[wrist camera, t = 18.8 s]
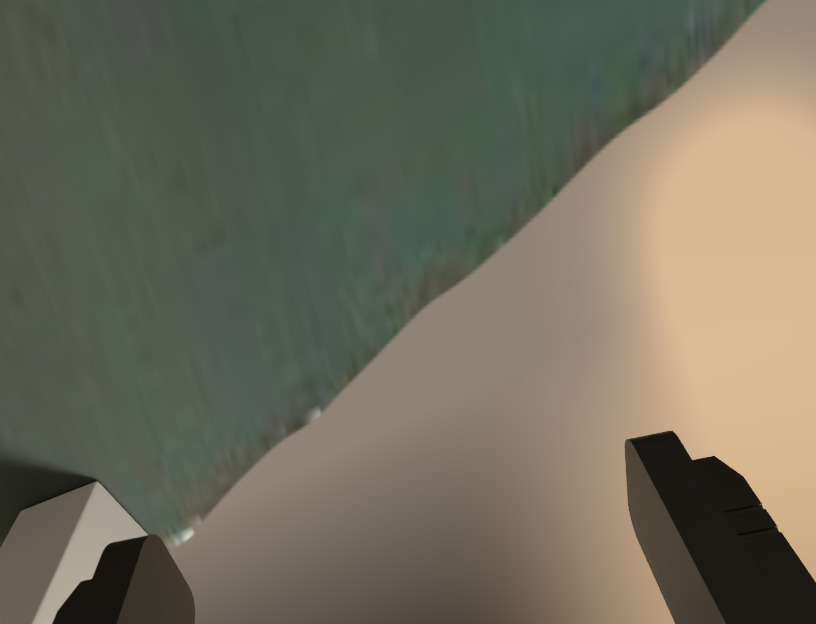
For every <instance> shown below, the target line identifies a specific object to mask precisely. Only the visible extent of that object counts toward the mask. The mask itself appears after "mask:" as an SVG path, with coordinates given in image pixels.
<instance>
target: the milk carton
mask: <svg viewBox="0 0 816 624" xmlns="http://www.w3.org/2000/svg"><path fill="white" fill-rule="evenodd" d="M147 535H148V534H147V533H146V532H145V531H144V530H143V529H142V528H141V527H140V526H139V525H138V524H137V522H136V521H135V520H134V519H133V518H132V517H131V516H130V515H129V514H128V513H127V512H126V511H125V510H124V509H123V508H122V506H121V505H120V504H119V503H118V502H117V501H116V500H115V499H114V498H113V497H112V496H111V495H110V494H109V493H108V492H107V490H106V489H105V488H104V487H103V486H102V485H101V484H100V483H99V482H97V481H96V482H93V483H91V484H88V485H86V486H83V487H80V488H78V489H75V490H73V491H70V492H68V493H65V494H62V495H60V496H57V497H55V498H52V499H50V500H47V501H45V502H42V503H39V504H37V505H34V506H32V507H29V508H27V509H24V510H22V511H21V512H20V513H19V515H18V517H17V519H16V520H15V522H14V524H13V526H12V528H11V529H10V531H9V533H8V535H7V537H6V538H5V540H4V542H3V544H2V546H1V547H0V624H52V623H53V620H54V618H55V616H56V613H57V611H58V610H59V608H60V607H61V606H62V605H63V603H64V602H65V601H66V600H67V598H68V597H69V596H70V595H71V593H72V592H73V591H74V589H75V588H76V587H77V586H78V584H79V583H80V582H81V581H85V580H90V579H92V577H93V575H94V572H95V570H96V567H97V565H98V562H99V560H100V557H101V554H102V552H103V550H104V549H105V547H106V546H107V545H108V544H110V543H112V542H117V541H122V540H127V539H132V538H137V537H142V536H147Z"/></svg>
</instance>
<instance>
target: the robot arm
mask: <svg viewBox="0 0 816 624" xmlns="http://www.w3.org/2000/svg"><path fill="white" fill-rule="evenodd" d="M625 459H626V475H627V492H628V506H629V511H630V516H631V520H632V524H633V527H634V530H635V533H636V536H637V539H638V541H639V544H640V546H641V548H642V550H643V552H644V554H645V557H646V559H647V561H648V563H649V566H650V568H651V570H652V573H653V575H654V577H655V579H656V581H657V584H658V586H659V588H660V591H661V593H662V595H663V597H664V599H665V602H666V604H667V606H668V608H669V610H670V613H671V615H672V617H673V619H674V622H675V624H816V582H815V581H814V579H813V578H812V577H811V575H810V573H809V572H808V571H807V569H806V568H805V566H804V565H803V563H802V562H801V560H800V559H799V557H798V556H797V554H796V553H795V552H794V550H793V549H792V547H791V546H790V544H789V543H788V541H787V540H786V538H785V537H784V536H783V534H782V533H781V532H779V531H778V529H777V525H776V524H775V522H774V521H773V519H772V518H771V516H770V515H769V514H768V512H767V511H766V509H763V507H762V503H761V502H760V501H759V499H758V498H757V496H756V495H755V493H754V492H753V491H752V489H751V487H750V486H749V484H748V483H747V481H746V480H745V479H744V477H743V476H742V475H740V474H739V473H737V472H736V471H734V470H733V469H732V468H730V467H729V466H727V465H726V464H725V463H723V462H722V461H721V460H719V459H718V458H716V457H715V456H712V457H707V458H702V459H696V460H692V459H691V458H690V456H689V454H688V453H687V451H686V449H685V448H684V446H683V444H682V443H681V441H680V440H679V438H678V437H677V435H676V434H675V433H674V432H673V431H667V432H662V433H657V434H652V435H647V436H642V437H637V438H633V439H627V440H626V441H625ZM194 622H195V606H194V600H193V595H192V592H191V590H190V588H189V586H188V584H187V582H186V581H185V579H184V577H183V575H182V574H181V572H180V571H179V569H178V567H177V565H176V564H175V562H174V560H173V558H172V557H171V555H170V553H169V552H168V550H167V548H166V546H165V545H164V543H163V541H162V540H161V539H160V537H158V536H157V535H155V534H152V535H147V536H142V537H137V538H132V539H127V540H122V541H117V542H112V543H110V544H108V545H107V546H106V547H105V549H104V550H103V552H102V554H101V557H100V560H99V562H98V565H97V567H96V570H95V572H94V575H93V577H92V579H90V580H85V581H81V582H80V583H79V584H78V586H77V587H76V588H75V589H74V591H73V592H72V593H71V595H70V596H69V597H68V598H67V600H66V601H65V602H64V603H63V605H62V606H61V607H60V608H59V610H58V611H57V613H56V616H55V618H54V620H53V623H52V624H194Z"/></svg>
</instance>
